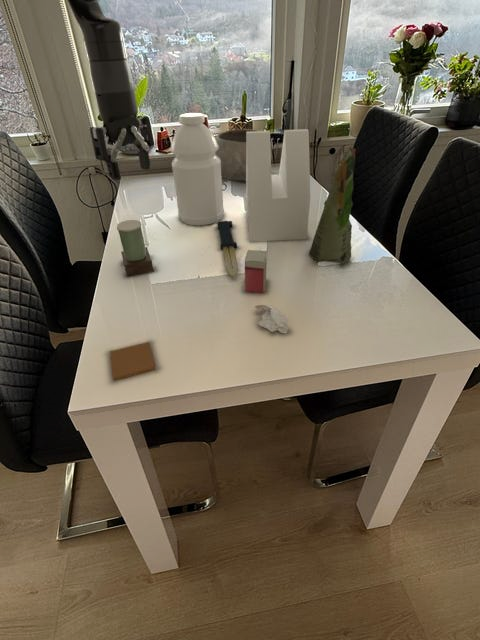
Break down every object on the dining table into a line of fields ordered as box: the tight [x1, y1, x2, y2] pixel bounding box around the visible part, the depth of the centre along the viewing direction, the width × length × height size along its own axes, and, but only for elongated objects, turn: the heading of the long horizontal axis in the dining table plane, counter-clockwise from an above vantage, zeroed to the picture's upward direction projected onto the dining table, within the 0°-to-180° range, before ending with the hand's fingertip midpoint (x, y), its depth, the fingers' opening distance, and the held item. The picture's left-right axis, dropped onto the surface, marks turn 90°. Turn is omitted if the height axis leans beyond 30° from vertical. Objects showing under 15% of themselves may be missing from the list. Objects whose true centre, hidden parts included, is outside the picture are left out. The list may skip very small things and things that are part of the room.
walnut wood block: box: [120, 246, 155, 277], centre depth 91 cm, size 6×8×3 cm
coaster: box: [109, 341, 156, 381], centre depth 66 cm, size 7×7×1 cm
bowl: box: [215, 128, 274, 182], centre depth 141 cm, size 23×23×15 cm
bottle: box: [170, 112, 225, 226], centre depth 107 cm, size 14×14×28 cm
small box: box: [244, 249, 268, 294], centre depth 81 cm, size 5×4×8 cm
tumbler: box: [115, 219, 147, 261], centre depth 88 cm, size 6×6×8 cm
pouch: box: [308, 146, 357, 266], centre depth 85 cm, size 11×12×25 cm
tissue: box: [254, 304, 289, 334], centre depth 72 cm, size 6×8×4 cm
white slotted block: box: [245, 128, 311, 243], centre depth 101 cm, size 19×15×25 cm
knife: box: [216, 220, 239, 279], centre depth 97 cm, size 4×2×30 cm
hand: (131, 174), depth 82 cm, fingers open, 8 cm apart
